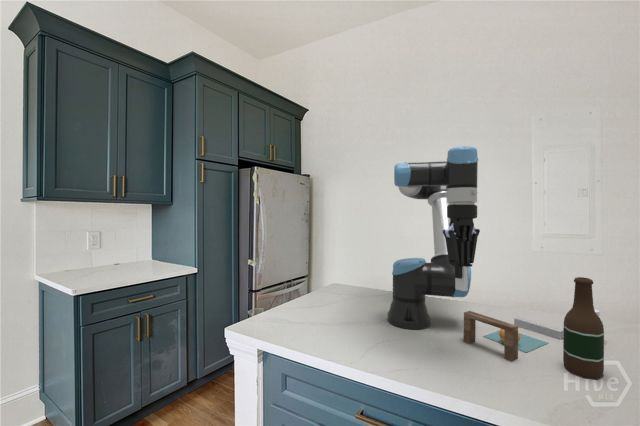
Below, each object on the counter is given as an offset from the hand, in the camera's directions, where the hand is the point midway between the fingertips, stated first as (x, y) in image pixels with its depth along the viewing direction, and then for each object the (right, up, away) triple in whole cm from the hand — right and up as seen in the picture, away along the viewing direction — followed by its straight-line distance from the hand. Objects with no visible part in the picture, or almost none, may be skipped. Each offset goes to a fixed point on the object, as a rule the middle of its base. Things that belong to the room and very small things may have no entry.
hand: (461, 289), depth 82 cm
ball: (+20, -17, +10) cm, 28 cm away
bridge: (+11, -19, +6) cm, 23 cm away
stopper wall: (+36, -20, +20) cm, 45 cm away
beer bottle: (+28, -20, -6) cm, 35 cm away
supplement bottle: (+48, -20, +13) cm, 53 cm away
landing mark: (+23, -19, +13) cm, 33 cm away
